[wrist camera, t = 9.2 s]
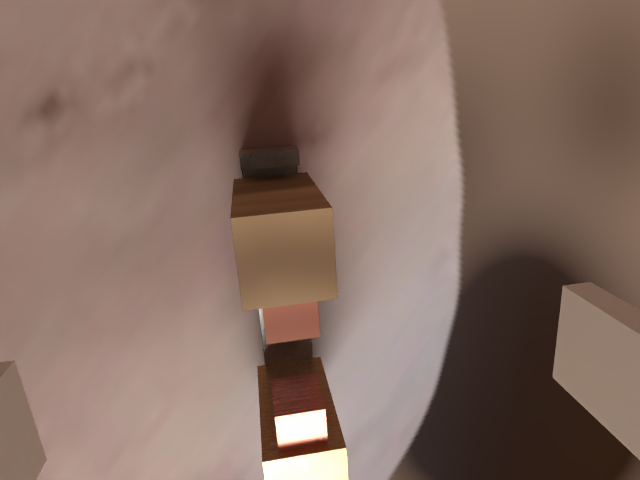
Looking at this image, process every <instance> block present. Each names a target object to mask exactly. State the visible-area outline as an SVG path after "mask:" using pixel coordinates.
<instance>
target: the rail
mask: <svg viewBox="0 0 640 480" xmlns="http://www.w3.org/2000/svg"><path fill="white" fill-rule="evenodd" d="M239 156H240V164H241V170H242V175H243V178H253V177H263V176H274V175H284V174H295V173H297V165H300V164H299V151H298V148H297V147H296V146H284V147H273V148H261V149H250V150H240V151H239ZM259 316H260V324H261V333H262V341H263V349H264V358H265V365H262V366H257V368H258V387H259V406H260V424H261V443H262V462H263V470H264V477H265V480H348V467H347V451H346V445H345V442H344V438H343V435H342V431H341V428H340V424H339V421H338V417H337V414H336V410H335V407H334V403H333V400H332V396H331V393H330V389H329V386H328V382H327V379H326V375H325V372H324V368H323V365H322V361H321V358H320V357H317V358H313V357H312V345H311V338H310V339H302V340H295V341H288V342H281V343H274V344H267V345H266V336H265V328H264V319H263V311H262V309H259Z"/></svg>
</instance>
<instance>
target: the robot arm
mask: <svg viewBox="0 0 640 480" xmlns="http://www.w3.org/2000/svg"><path fill="white" fill-rule="evenodd" d="M553 378H554V379H555V380H556V381H557V382H558V383H559V384H560V385H561V386H562V387H563V388H564V389H565V390H566V391H568V392H569V393H570V394H571V395H572V396H573V397H574V398H575V399H576V400H577V401H578V402H579V403H580V404H581V405H582V406H583V407H584V408H586V409H587V410H588V411H589V412H590V413H591V414H592V415H593V416H594V417H595V418H596V419H597V420H598V421H599V422H600V423H601V424H603V426H604V427H606V428H607V429H608V430H609V431H610V432H611V433H612V434H613V435H614V436H615V437H616V438H617V439H618V440H619V441H620V442H621V443H622V444H623V445H625V446H626V447H627V448H628V449H629V450H630V451H631V452H632V453H633V454H634V455H635V456H636V457H637V458H638V459H639V460H640V310H638V309H636V308H634V307H633V306H631V305H629V304H627V303H626V302H624V301H622V300H620V299H619V298H617V297H615V296H613V295H612V294H610V293H608V292H606V291H605V290H603V289H601V288H599V287H598V286H596V285H594V284H592V283H591V282H588V283H581V284H573V285H566V286H563V290H562V299H561V308H560V316H559V326H558V334H557V344H556V352H555V361H554V370H553ZM46 460H47V459H46V456H45V452H44V449H43V446H42V443H41V440H40V437H39V434H38V431H37V428H36V425H35V422H34V418H33V415H32V412H31V409H30V406H29V403H28V400H27V397H26V394H25V391H24V387H23V384H22V381H21V378H20V375H19V372H18V369H17V366H16V363H15V360H13V361H6V362H0V480H36V479H37V477H38V475H39V473H40V471H41V469H42V467H43V465H44V463H45V462H46Z"/></svg>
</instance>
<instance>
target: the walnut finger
mask: <svg viewBox="0 0 640 480" xmlns="http://www.w3.org/2000/svg"><path fill="white" fill-rule="evenodd" d="M230 219H231V227H232V234H233V242H234V249H235V257H236V264H237V272H238V279H239V287H240V294H241V302H242V310H243V311H248V310H256V309H262V311H263V319H264V328H265V336H266V345H267V344H274V343H281V342H288V341H295V340H302V339H310V338H317V337H320V325H319V312H318V301H325V300H333V299H338V295H337V278H336V261H335V244H334V227H333V211H332V207H331V205H330V204H329V202H328V201H327V200H326V198H325V197H324V196H323V194H322V193H321V191H320V190H319V189H318V187H317V186H316V185H315V183H314V182H313V181H312V179H311V178H310V176H309V175H308V174H307V172H305V173H295V174H284V175H274V176H263V177H253V178H242V179H234V184H233V195H232V206H231V217H230Z"/></svg>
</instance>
